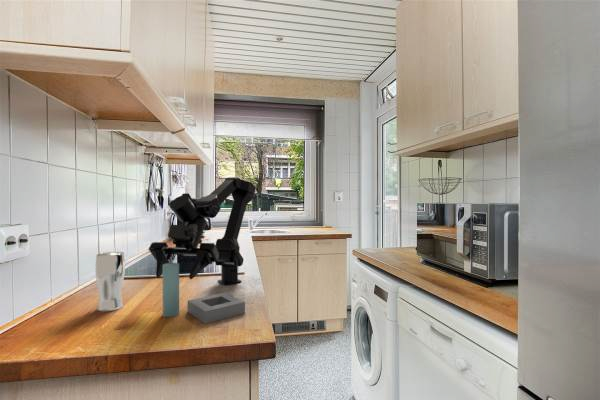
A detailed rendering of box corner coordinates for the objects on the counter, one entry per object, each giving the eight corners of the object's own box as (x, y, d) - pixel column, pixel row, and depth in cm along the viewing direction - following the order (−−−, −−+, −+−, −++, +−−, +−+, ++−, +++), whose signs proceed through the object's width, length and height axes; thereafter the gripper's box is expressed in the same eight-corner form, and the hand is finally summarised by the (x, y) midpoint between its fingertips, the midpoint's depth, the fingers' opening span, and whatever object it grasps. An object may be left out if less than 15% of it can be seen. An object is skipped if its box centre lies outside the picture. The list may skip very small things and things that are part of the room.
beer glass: (91, 313, 84) (91, 256, 84) (100, 305, 91) (100, 252, 91) (121, 310, 86) (120, 255, 86) (127, 302, 93) (127, 251, 92)
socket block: (187, 311, 85) (187, 300, 85) (225, 302, 92) (225, 292, 92) (205, 323, 77) (205, 311, 77) (245, 313, 84) (245, 301, 84)
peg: (160, 314, 83) (160, 264, 83) (176, 310, 86) (175, 262, 86) (165, 318, 80) (165, 266, 80) (181, 314, 83) (181, 264, 83)
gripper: (152, 213, 91) (127, 259, 80) (215, 214, 89) (198, 261, 78) (166, 238, 99) (145, 283, 88) (225, 239, 97) (210, 285, 86)
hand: (173, 277), depth 85 cm, fingers open, 9 cm apart
